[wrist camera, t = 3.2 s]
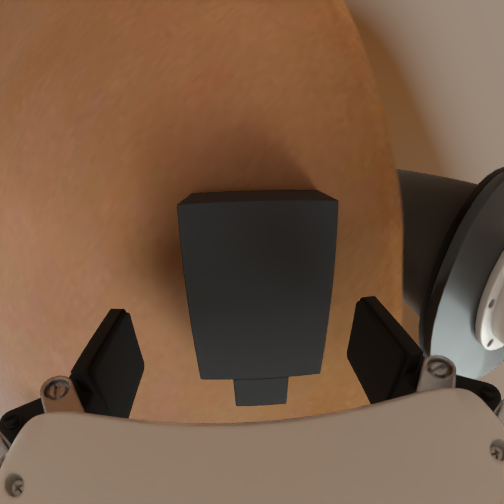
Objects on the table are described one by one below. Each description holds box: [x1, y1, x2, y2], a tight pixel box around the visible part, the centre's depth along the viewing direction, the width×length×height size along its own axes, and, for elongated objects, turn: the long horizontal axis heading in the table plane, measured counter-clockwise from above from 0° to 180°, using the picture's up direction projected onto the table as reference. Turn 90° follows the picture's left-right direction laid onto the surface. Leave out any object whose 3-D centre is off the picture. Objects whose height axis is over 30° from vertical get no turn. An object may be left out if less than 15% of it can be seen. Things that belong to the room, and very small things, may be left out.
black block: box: [177, 190, 338, 406], centre depth 15 cm, size 7×13×4 cm, turn 1°
